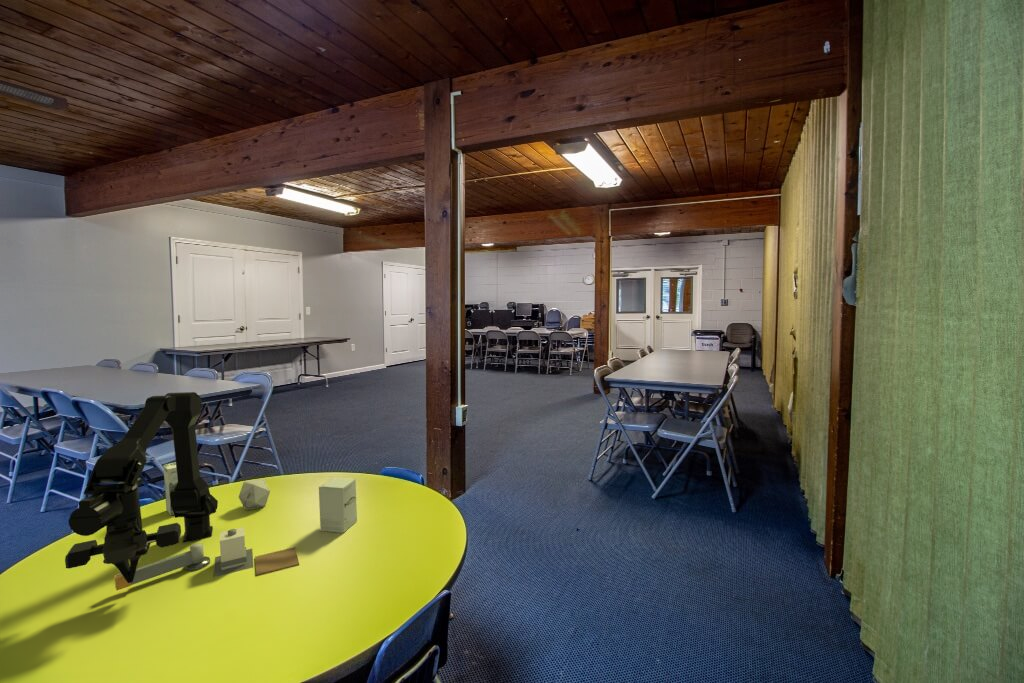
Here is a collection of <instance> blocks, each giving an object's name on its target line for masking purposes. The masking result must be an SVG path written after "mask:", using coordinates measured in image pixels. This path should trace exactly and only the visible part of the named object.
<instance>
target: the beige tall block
mask: <svg viewBox="0 0 1024 683" xmlns="http://www.w3.org/2000/svg"><path fill="white" fill-rule="evenodd" d="M219 534H220V535H219V550H220V556H221V557H220V568H222V570H223V569H227V568H231V567H235V566H239V565H243V564H246V562H247V553H246V550H247V546H246V539H245V527H244V526H242V527H239V528H232V529H229V530H224V531H221V532H220V533H219Z"/></svg>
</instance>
